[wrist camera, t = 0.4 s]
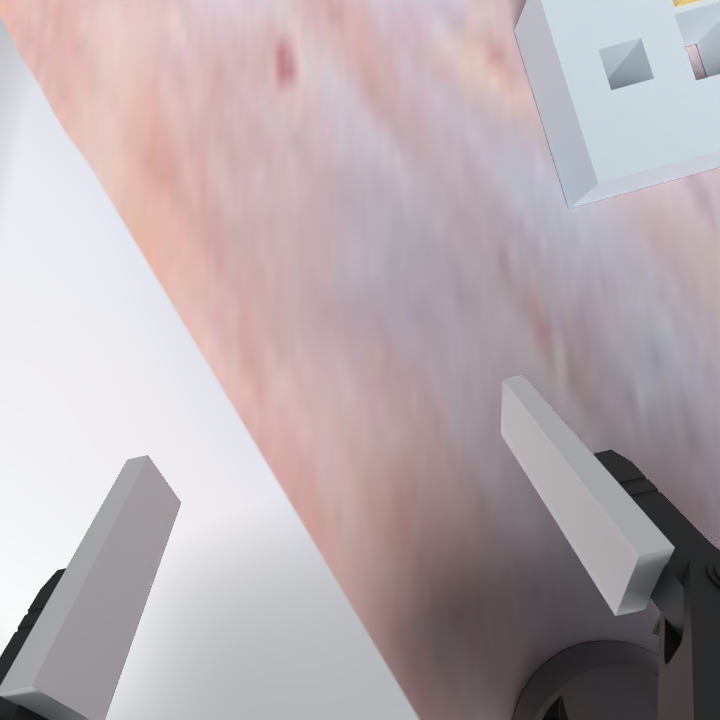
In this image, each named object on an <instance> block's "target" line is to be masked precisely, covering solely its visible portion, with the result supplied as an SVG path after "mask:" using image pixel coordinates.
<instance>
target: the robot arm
mask: <svg viewBox="0 0 720 720" xmlns="http://www.w3.org/2000/svg"><path fill="white" fill-rule="evenodd" d="M501 435H502V437H503V438H504V440H505V441H506V443H507V445H508V446H509V448H510V449H511V451H512V453H513V454H514V456H515V457H516V459H517V460H518V462H519V464H520V465H521V467H522V468H523V470H524V472H525V473H526V475H527V476H528V478H529V480H530V481H531V483H532V484H533V486H534V488H535V489H536V491H537V492H538V494H539V495H540V497H541V499H542V500H543V502H544V503H545V505H546V507H547V508H548V510H549V511H550V513H551V515H552V516H553V518H554V519H555V521H556V523H557V524H558V526H559V527H560V529H561V530H562V532H563V534H564V535H565V537H566V538H567V540H568V542H569V543H570V545H571V546H572V548H573V550H574V551H575V553H576V554H577V556H578V558H579V559H580V561H581V562H582V564H583V565H584V567H585V569H586V570H587V572H588V573H589V575H590V577H591V578H592V580H593V581H594V583H595V585H596V586H597V588H598V589H599V591H600V592H601V594H602V596H603V597H604V599H605V600H606V602H607V604H608V605H609V607H610V608H611V610H612V612H613V613H614V615H615V616H618V615H623V614H627V613H632V612H637V611H641V610H645V609H646V607H647V605H648V603H649V601H650V599H652V600H653V601H654V603H655V604H656V606H657V607H658V608H659V610H660V611H661V612H662V613H661V615H660V617H659V618H658V620H657V622H656V624H655V627H654V630H653V633H654V634H656V635H659V633H660V641H659V656H658V655H656V654H655V653H653V652H651V651H648V650H646V649H644V648H641V647H638V646H635V645H632V644H628V643H622V642H614V641H598V642H590V643H585V644H581V645H578V646H575V647H572V648H570V649H567V650H565V651H563V652H561V653H559V654H558V655H556V656H555V657H553V658H552V659H550V660H549V661H548V662H546V663H545V664H544V665H543V666H542V667H541V668H540V669H539V670H538V671H537V672H536V673H535V674H534V676H533V677H532V678H531V679H530V681H529V682H528V684H527V685H526V687H525V689H524V691H523V693H522V695H521V697H520V699H519V702H518V704H517V707H516V711H515V714H514V719H513V720H720V550H719V549H717V548H716V547H715V546H713V545H712V544H711V543H710V542H709V541H708V540H707V539H706V538H705V537H704V536H703V535H702V534H701V533H700V532H699V531H698V530H697V529H696V528H695V527H694V526H693V525H692V524H691V523H690V522H689V521H688V520H687V519H686V518H685V517H684V516H683V515H682V514H681V513H680V512H679V510H678V509H677V508H676V507H675V506H674V505H673V504H672V503H671V502H670V501H669V500H668V499H667V498H666V497H665V496H664V495H663V494H662V493H661V492H660V493H659V492H658V489H657V488H656V487H655V486H654V485H653V484H652V483H651V482H650V481H649V480H647V479H646V477H645V475H644V474H643V473H642V472H641V471H640V470H639V469H638V468H637V467H636V466H635V465H634V464H633V463H632V462H631V461H629V460H628V459H626V458H624V457H623V456H621V455H619V454H618V453H616V452H614V451H612V450H608V451H604V452H599V453H594V454H592V452H591V451H590V450H589V449H588V448H587V447H586V446H585V444H584V443H583V442H582V441H581V440H580V439H579V438H578V436H577V435H576V434H575V433H574V432H573V431H572V430H571V428H570V427H569V426H568V425H567V424H566V423H565V422H564V420H563V419H562V418H561V417H560V416H559V415H558V414H557V412H556V411H555V410H554V409H553V408H552V407H551V406H550V404H549V403H548V402H547V401H546V400H545V399H544V398H543V397H542V395H541V394H540V393H539V392H538V391H537V390H536V389H535V387H534V386H533V385H532V384H531V383H530V382H529V381H528V379H527V378H526V377H525V376H524V375H523V374H522V375H517V376H513V377H508V378H503V379H502V407H501ZM180 505H181V502H180V500H179V499H178V498H177V496H176V495H175V493H174V492H173V490H172V489H171V487H170V486H169V485H168V483H167V482H166V480H165V479H164V477H163V476H162V474H161V473H160V472H159V470H158V469H157V467H156V466H155V464H154V463H153V462H152V460H151V459H150V457H149V456H148V455H147V456H142V457H137V458H133V459H128V460H127V462H126V463H125V465H124V467H123V469H122V470H121V472H120V474H119V476H118V477H117V479H116V481H115V483H114V485H113V486H112V488H111V490H110V492H109V493H108V495H107V497H106V499H105V501H104V502H103V504H102V506H101V508H100V509H99V511H98V513H97V515H96V517H95V518H94V520H93V522H92V524H91V526H90V528H89V529H88V531H87V533H86V535H85V536H84V538H83V540H82V541H81V543H80V545H79V547H78V549H77V550H76V552H75V554H74V556H73V558H72V559H71V561H70V563H69V565H68V566H67V568H65V569H61V570H57V571H56V573H55V574H54V575H53V576H52V577H51V578H50V579H49V580H48V582H47V583H46V584H45V585H44V586H43V587H42V588H41V589H40V591H39V593H38V594H37V596H36V598H35V599H34V601H33V603H32V604H31V606H30V608H29V609H28V614H27V615H25V616H24V618H23V620H22V621H21V623H20V625H19V626H18V631H17V632H15V633H14V635H13V636H12V638H11V640H10V642H9V643H8V645H7V647H6V648H5V650H4V652H3V653H2V655H1V657H0V720H105V718H106V715H107V712H108V709H109V707H110V704H111V701H112V698H113V695H114V693H115V690H116V687H117V684H118V680H119V678H120V675H121V672H122V669H123V667H124V664H125V661H126V658H127V656H128V653H129V650H130V647H131V644H132V641H133V638H134V636H135V633H136V630H137V627H138V624H139V621H140V619H141V616H142V613H143V610H144V607H145V604H146V601H147V598H148V596H149V593H150V590H151V587H152V584H153V582H154V579H155V576H156V573H157V570H158V567H159V564H160V561H161V559H162V556H163V553H164V550H165V547H166V545H167V542H168V539H169V536H170V533H171V530H172V527H173V524H174V522H175V519H176V516H177V513H178V510H179V508H180Z"/></svg>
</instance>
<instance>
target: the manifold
mask: <svg viewBox="0 0 720 720" xmlns="http://www.w3.org/2000/svg"><path fill="white" fill-rule="evenodd" d="M514 33H515V36H516V39H517V43H518V46H519V49H520V52H521V56H522V59H523V62H524V65H525V69H526V72H527V75H528V78H529V82H530V85H531V88H532V91H533V95H534V98H535V101H536V104H537V108H538V111H539V114H540V117H541V121H542V124H543V127H544V130H545V134H546V137H547V140H548V143H549V147H550V150H551V153H552V156H553V160H554V163H555V166H556V169H557V173H558V176H559V179H560V182H561V185H562V189H563V192H564V195H565V198H566V202H567V205H568V208H569V209H570V208H574V207H577V206H581V205H585V204H588V203H592V202H596V201H599V200H603V199H606V198H610V197H614V196H617V195H621V194H625V193H628V192H632V191H635V190H639V189H643V188H646V187H650V186H654V185H657V184H661V183H664V182H668V181H672V180H675V179H679V178H683V177H686V176H690V175H693V174H697V173H701V172H704V171H708V170H712V169H715V168H719V167H720V0H527V1H526V3H525V6H524V8H523V11H522V13H521V15H520V18H519V20H518V23H517V25H516V27H515V30H514ZM694 44H696V45H697V48H698V51H699V54H700V57H701V60H702V63H703V66H704V69H705V72H706V75H707V78H703V79H700V80H696V78H695V75H694V72H693V69H692V66H691V63H690V60H689V57H688V54H687V51H686V48H685V47H687V46H691V45H694Z"/></svg>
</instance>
